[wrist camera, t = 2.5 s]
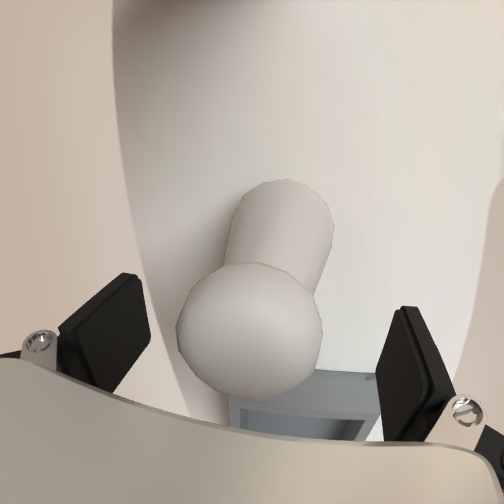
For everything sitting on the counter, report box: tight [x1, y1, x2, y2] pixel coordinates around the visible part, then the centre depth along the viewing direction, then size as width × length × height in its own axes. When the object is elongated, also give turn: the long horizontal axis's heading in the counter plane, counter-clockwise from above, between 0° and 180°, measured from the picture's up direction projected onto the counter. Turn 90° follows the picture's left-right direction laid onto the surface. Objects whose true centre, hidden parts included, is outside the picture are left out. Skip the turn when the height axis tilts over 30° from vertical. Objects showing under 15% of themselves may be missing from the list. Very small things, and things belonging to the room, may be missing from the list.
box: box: [227, 369, 381, 441], centre depth 25 cm, size 12×12×4 cm
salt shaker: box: [176, 179, 334, 399], centre depth 13 cm, size 6×6×13 cm
